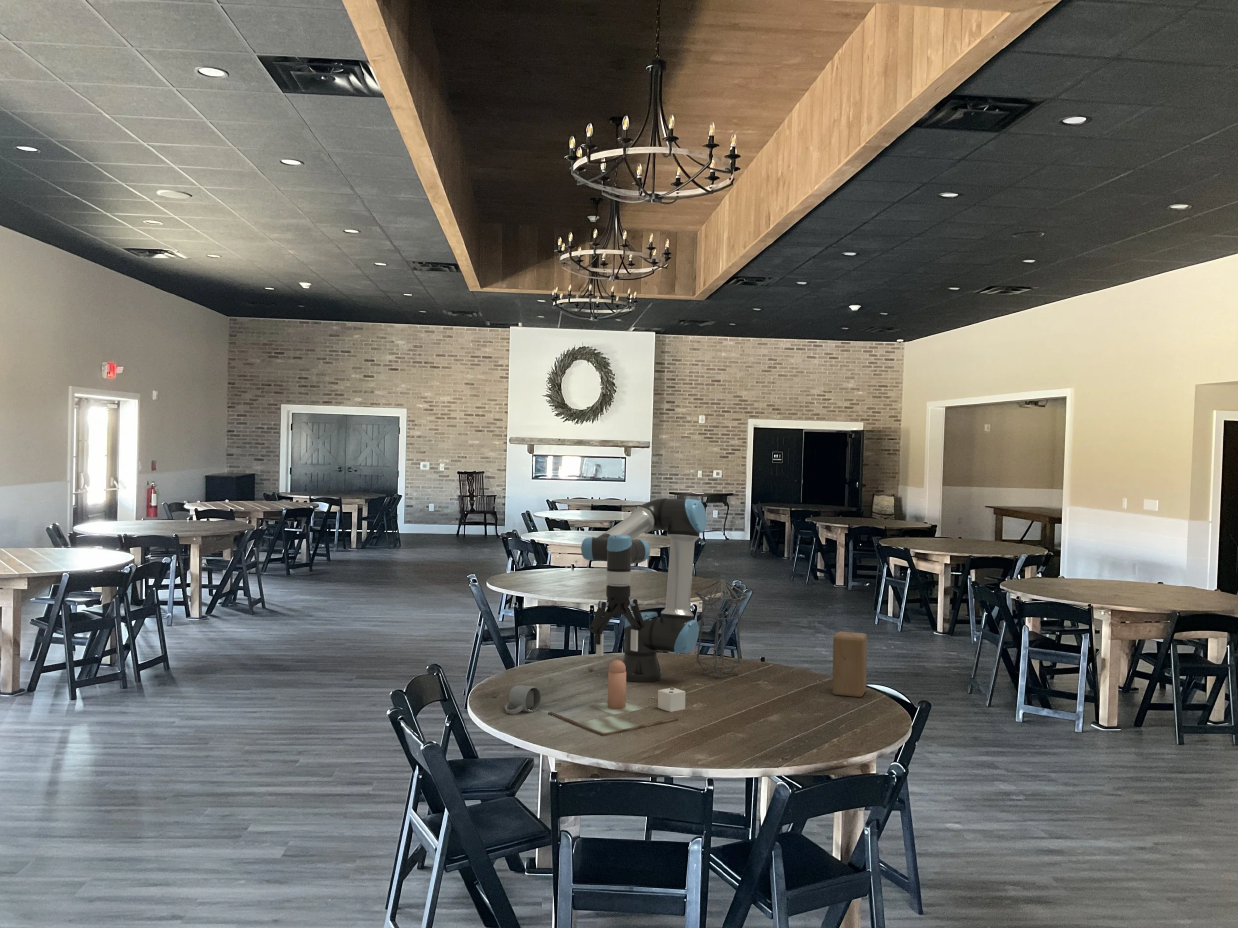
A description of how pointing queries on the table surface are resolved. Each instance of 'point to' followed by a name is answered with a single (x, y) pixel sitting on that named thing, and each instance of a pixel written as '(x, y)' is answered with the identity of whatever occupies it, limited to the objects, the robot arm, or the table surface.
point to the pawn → (617, 685)
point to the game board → (611, 720)
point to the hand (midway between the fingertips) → (617, 652)
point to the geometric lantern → (726, 585)
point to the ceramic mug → (523, 699)
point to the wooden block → (849, 663)
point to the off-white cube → (671, 699)
